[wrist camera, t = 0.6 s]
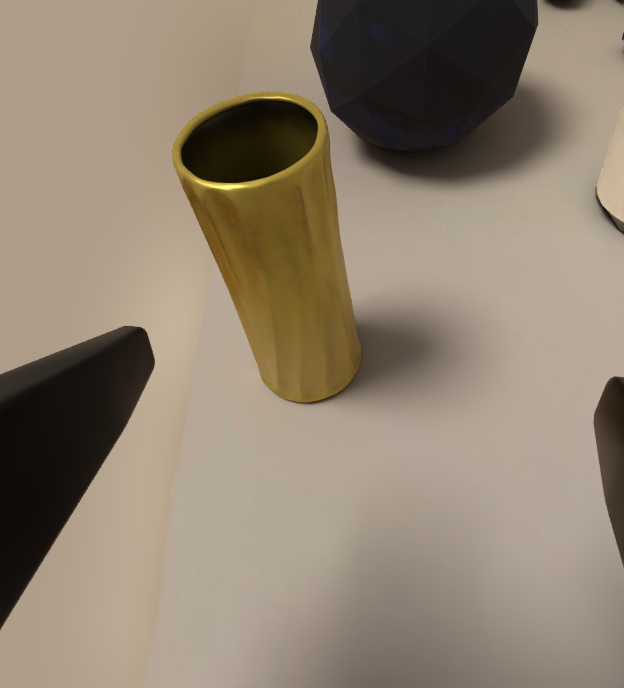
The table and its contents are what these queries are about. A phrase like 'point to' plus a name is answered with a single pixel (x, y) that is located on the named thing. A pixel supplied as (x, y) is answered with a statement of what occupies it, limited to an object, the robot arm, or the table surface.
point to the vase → (275, 235)
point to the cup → (614, 175)
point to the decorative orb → (420, 65)
